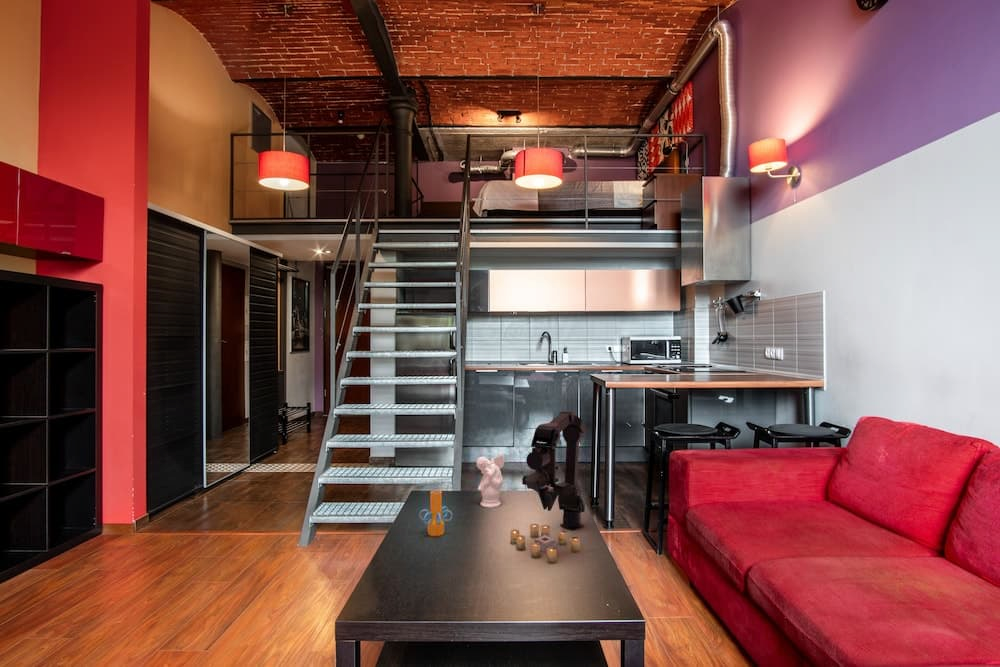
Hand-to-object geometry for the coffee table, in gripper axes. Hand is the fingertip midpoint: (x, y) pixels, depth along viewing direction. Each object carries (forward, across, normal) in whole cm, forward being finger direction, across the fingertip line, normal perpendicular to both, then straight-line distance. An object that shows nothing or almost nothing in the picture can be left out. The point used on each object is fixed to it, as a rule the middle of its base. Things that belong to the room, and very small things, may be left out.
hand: (547, 510), depth 169 cm
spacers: (+13, -1, 0) cm, 13 cm away
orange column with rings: (+13, -36, -20) cm, 43 cm away
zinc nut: (+13, -1, 0) cm, 13 cm away
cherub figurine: (+13, -48, +17) cm, 53 cm away
